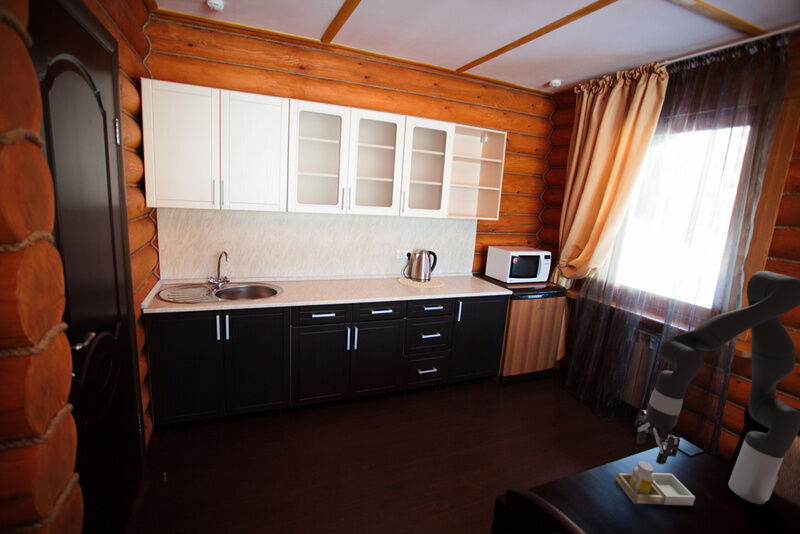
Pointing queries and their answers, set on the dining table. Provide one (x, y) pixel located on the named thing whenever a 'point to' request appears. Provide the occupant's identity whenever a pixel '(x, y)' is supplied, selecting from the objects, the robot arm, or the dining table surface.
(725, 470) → the dining table surface
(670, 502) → the tray
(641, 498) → the wooden frame
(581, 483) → the dining table surface
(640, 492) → the supplement bottle
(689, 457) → the dining table surface
